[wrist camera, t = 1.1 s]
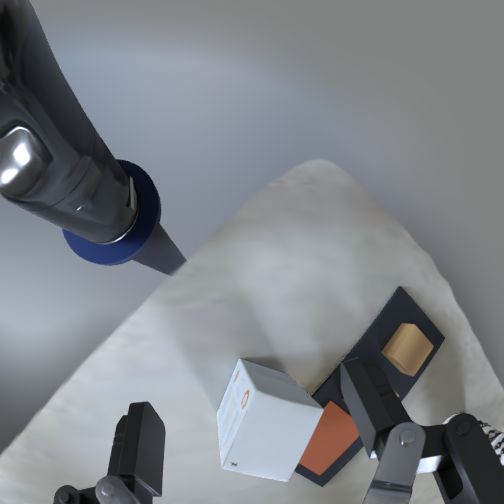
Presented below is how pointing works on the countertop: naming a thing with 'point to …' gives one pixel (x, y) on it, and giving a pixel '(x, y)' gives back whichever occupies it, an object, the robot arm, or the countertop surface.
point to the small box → (264, 422)
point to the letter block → (407, 349)
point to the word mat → (330, 394)
